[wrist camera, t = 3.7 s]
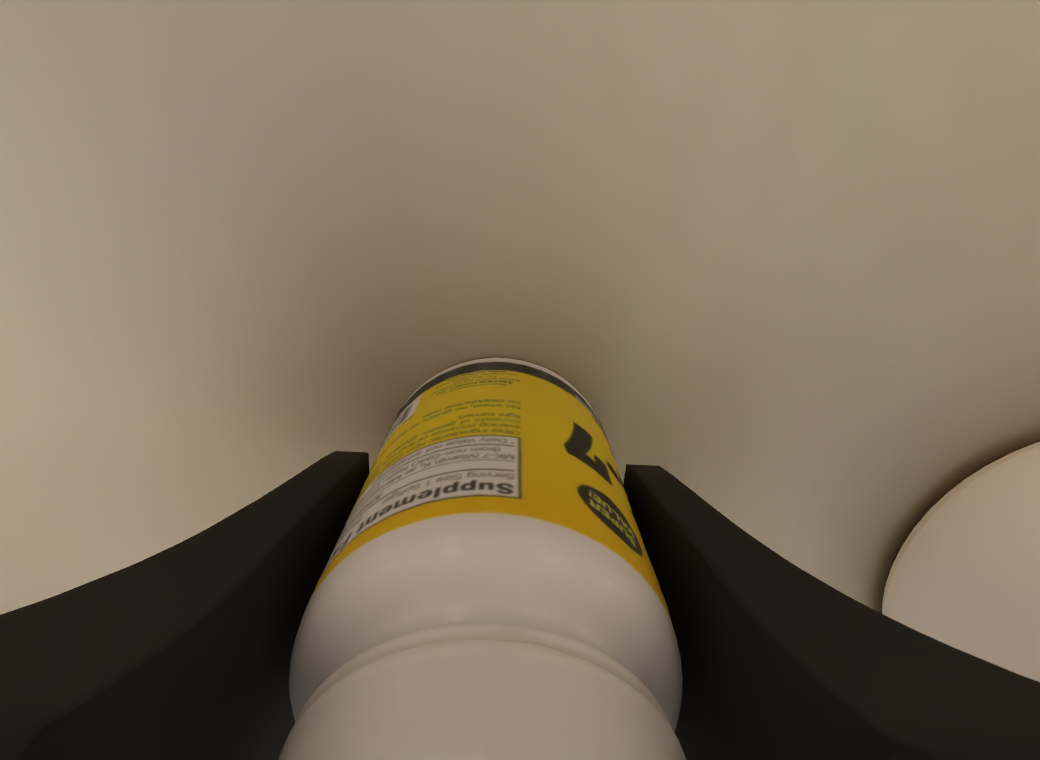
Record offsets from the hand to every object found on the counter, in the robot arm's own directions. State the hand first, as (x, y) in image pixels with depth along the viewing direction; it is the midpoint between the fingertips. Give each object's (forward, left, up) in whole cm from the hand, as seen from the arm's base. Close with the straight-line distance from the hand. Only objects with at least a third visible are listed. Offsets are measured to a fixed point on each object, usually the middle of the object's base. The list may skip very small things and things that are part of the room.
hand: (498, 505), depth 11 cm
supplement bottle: (0, 0, -2) cm, 2 cm away
